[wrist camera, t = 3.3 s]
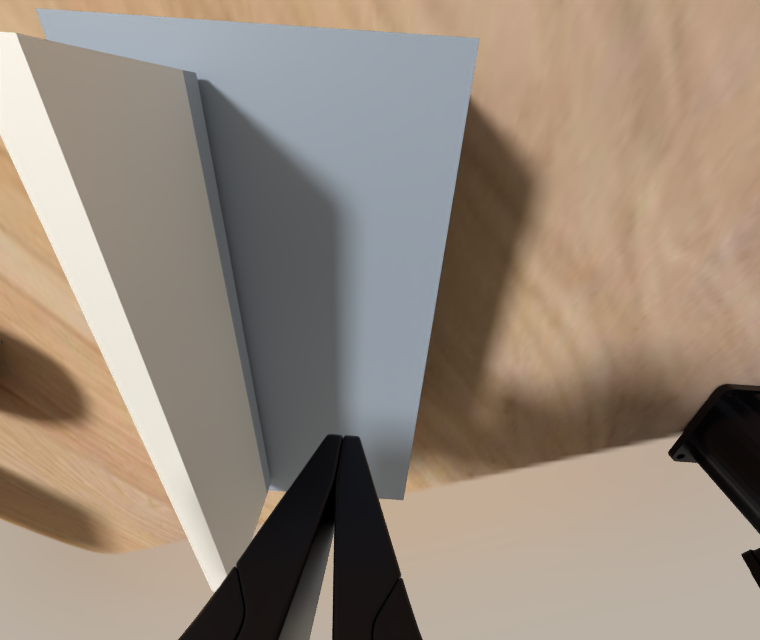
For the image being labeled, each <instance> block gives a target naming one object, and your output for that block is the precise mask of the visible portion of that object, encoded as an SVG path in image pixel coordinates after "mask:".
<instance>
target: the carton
mask: <svg viewBox="0 0 760 640" xmlns="http://www.w3.org/2000/svg"><path fill="white" fill-rule="evenodd" d="M36 11H37V14H38V17H39V20H40V22H41V25H42V28H43V31H44V34H45V36H46V39H47V40H50V41H54V42H59V43H63V44H68V45H73V46H77V47H82V48H86V49H91V50H95V51H100V52H104V53H109V54H113V55H118V56H122V57H127V58H131V59H136V60H140V61H145V62H149V63H154V64H158V65H163V66H167V67H172V68H176V69H181V70H186V71H190V72H195V73H196V75H197V80H198V86H199V91H200V96H201V102H202V107H203V113H204V118H205V124H206V129H207V135H208V140H209V146H210V151H211V157H212V162H213V167H214V173H215V178H216V184H217V189H218V195H219V200H220V206H221V211H222V217H223V222H224V228H225V233H226V239H227V244H228V249H229V255H230V260H231V266H232V271H233V277H234V282H235V288H236V293H237V299H238V304H239V310H240V315H241V321H242V326H243V331H244V337H245V342H246V348H247V353H248V359H249V364H250V370H251V375H252V381H253V386H254V392H255V397H256V402H257V408H258V413H259V419H260V424H261V430H262V435H263V441H264V446H265V452H266V457H267V463H268V468H269V474H270V479H271V484H270V487H269V490H273V491H287V490H288V489H289V488H290V486H291V485H292V483H293V482H294V480H295V479H296V478H297V476H298V475H299V473H300V472H301V471H302V469H303V468H304V466H305V465H306V464H307V462H308V461H309V459H310V458H311V456H312V455H313V454H314V452H315V451H316V449H317V448H318V447H319V445H320V444H321V442H322V441H323V439H324V438H325V437H326V436H327V435H328V434H339V435H342V436H343V438H344V436H345V435H354V436H359V437H360V439H361V442H362V446H363V449H364V452H365V456H366V459H367V462H368V466H369V469H370V472H371V476H372V479H373V482H374V486H375V489H376V492H377V496H378V498H382V499H396V500H403V499H404V493H405V487H406V481H407V475H408V469H409V463H410V457H411V450H412V444H413V438H414V432H415V426H416V420H417V414H418V408H419V402H420V396H421V390H422V384H423V378H424V372H425V366H426V359H427V353H428V347H429V341H430V335H431V329H432V323H433V317H434V311H435V305H436V299H437V293H438V287H439V281H440V275H441V269H442V262H443V256H444V250H445V244H446V238H447V232H448V226H449V220H450V214H451V208H452V202H453V196H454V190H455V184H456V178H457V171H458V165H459V159H460V153H461V147H462V141H463V135H464V129H465V123H466V117H467V111H468V105H469V99H470V93H471V87H472V80H473V74H474V68H475V62H476V56H477V50H478V44H479V38H467V37H453V36H438V35H423V34H408V33H393V32H379V31H364V30H349V29H334V28H319V27H305V26H290V25H275V24H260V23H245V22H231V21H216V20H201V19H186V18H171V17H157V16H142V15H127V14H112V13H97V12H83V11H68V10H53V9H38V8H36Z"/></svg>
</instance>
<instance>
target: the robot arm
mask: <svg viewBox="0 0 760 640" xmlns="http://www.w3.org/2000/svg"><path fill="white" fill-rule="evenodd" d="M668 454H669V456H670V457H671V458H672V459H673V460H674V461H680V462H694V463H698V464H699V465H700V466H701V467H702V468H703V469H704V470H705V472H706V473H707V474H708V475H709V476H710V478H711V479H712V480H713V481H714V482H715V483H716V484H717V486H718V487H719V488H720V489H721V490H722V491H723V492H724V493H725V495H726V496H727V497H728V498H729V499H730V500H731V502H732V503H733V504H734V505H735V506H736V507H737V508H738V510H739V511H740V512H741V513H742V514H743V515H744V516H745V518H746V519H747V520H748V521H749V522H750V523H751V524H752V526H753V527H754V528H755V529H756V530H757V531H758V533H759V534H760V387H758V386H744V385H724V386H721V387H719V388H718V389H717V390H716V391H715V393H714V394H713V395H712V396H711V398H710V399H709V400H708V402H707V403H706V404H705V405H704V407H703V408H702V409H701V411H700V412H699V413H698V414H697V416H696V417H695V418H694V420H693V421H692V422H691V423H690V425H689V426H688V427H687V428H686V430H685V431H684V432H683V434H682V435H681V436H680V437H679V439H678V440H677V441H676V443H675V444H674V445H673V447H672V448H671V449H670V450H669V452H668ZM333 534H334V574H333V628H332V640H423V639H422V637H421V634H420V632H419V629H418V626H417V623H416V620H415V617H414V614H413V611H412V608H411V604H410V602H409V598H408V595H407V592H406V589H405V585H404V582H403V579H402V578H401V572H400V569H399V566H398V562H397V560H396V556H395V552H394V549H393V546H392V542H391V539H390V536H389V532H388V529H387V526H386V523H385V519H384V516H383V512H382V509H381V506H380V502H379V499H378V496H377V492H376V489H375V486H374V482H373V479H372V476H371V472H370V469H369V466H368V462H367V459H366V456H365V452H364V449H363V446H362V442H361V439H360V437H359V436H354V435H345V436H344V438H343V436H342V435H339V434H328V435H327V436H326V437H325V438H324V439H323V441H322V442H321V444H320V445H319V447H318V448H317V449H316V451H315V452H314V454H313V455H312V456H311V458H310V459H309V461H308V462H307V464H306V465H305V466H304V468H303V469H302V471H301V472H300V473H299V475H298V476H297V478H296V479H295V480H294V482H293V483H292V485H291V486H290V488H289V489H288V490H287V492H286V493H285V495H284V496H283V497H282V499H281V500H280V502H279V503H278V505H277V506H276V507H275V509H274V510H273V512H272V513H271V514H270V516H269V517H268V519H267V520H266V522H265V523H264V524H263V526H262V527H261V529H260V530H259V531H258V533H257V534H256V536H255V537H254V538H253V540H252V541H251V543H250V544H249V546H248V547H247V548H246V550H245V551H244V553H243V554H242V555H241V557H240V558H239V560H238V561H237V563H236V567H233V568H232V569H231V571H230V572H229V574H228V575H227V576H226V578H225V579H224V581H223V582H222V583H221V585H220V586H219V588H218V589H217V590H216V592H215V593H214V594H213V596H212V597H211V598H210V600H209V601H208V603H207V604H206V605H205V607H204V608H203V609H202V611H201V612H200V613H199V615H198V616H197V617H196V619H195V620H194V621H193V622H192V623H191V625H190V626H189V627H188V628H187V629H186V631H185V632H184V633H183V635H182V636H181V637H180V638H179V639H178V640H309V639H310V634H311V629H312V625H313V621H314V616H315V613H316V608H317V604H318V600H319V595H320V591H321V586H322V582H323V577H324V574H325V569H326V565H327V561H328V556H329V551H330V547H331V543H332V538H333ZM742 557H743V559H744V561H745V562H746V564H747V566H748V567H749V569H750V571H751V574H752V576H753V577H754V579H755V581H756V582H757V584H758V586H759V588H760V548H759V549H756V550H749V551H747V552H745V553H743V554H742Z"/></svg>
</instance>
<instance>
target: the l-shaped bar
mask: <svg viewBox="0 0 760 640" xmlns="http://www.w3.org/2000/svg"><path fill="white" fill-rule="evenodd" d="M0 135H1V137H2V139H3V142H4V144H5V146H6V148H7V150H8V152H9V154H10V157H11V159H12V161H13V163H14V165H15V167H16V170H17V172H18V174H19V176H20V178H21V180H22V182H23V185H24V187H25V189H26V191H27V193H28V195H29V198H30V200H31V202H32V204H33V206H34V208H35V210H36V213H37V215H38V217H39V219H40V221H41V223H42V226H43V228H44V230H45V232H46V234H47V236H48V238H49V241H50V243H51V245H52V247H53V249H54V251H55V254H56V256H57V258H58V260H59V262H60V264H61V266H62V269H63V271H64V273H65V275H66V277H67V279H68V282H69V284H70V286H71V288H72V290H73V292H74V294H75V297H76V299H77V301H78V303H79V305H80V307H81V310H82V312H83V314H84V316H85V318H86V320H87V322H88V325H89V327H90V329H91V331H92V333H93V335H94V338H95V340H96V342H97V344H98V346H99V348H100V350H101V353H102V355H103V357H104V359H105V361H106V363H107V365H108V368H109V370H110V372H111V374H112V376H113V378H114V381H115V383H116V385H117V387H118V389H119V391H120V393H121V396H122V398H123V400H124V402H125V404H126V406H127V409H128V411H129V413H130V415H131V417H132V419H133V421H134V424H135V426H136V428H137V430H138V432H139V434H140V437H141V439H142V441H143V443H144V445H145V447H146V449H147V452H148V454H149V456H150V458H151V460H152V462H153V465H154V467H155V469H156V471H157V473H158V475H159V477H160V480H161V482H162V484H163V486H164V488H165V490H166V493H167V495H168V497H169V499H170V501H171V503H172V505H173V508H174V510H175V512H176V514H177V516H178V518H179V521H180V523H181V525H182V527H183V529H184V531H185V533H186V536H187V538H188V540H189V542H190V544H191V546H192V548H193V551H194V553H195V555H196V557H197V559H198V561H199V564H200V566H201V568H202V570H203V572H204V574H205V577H206V579H207V581H208V583H209V585H210V587H211V589H212V591H216V590H217V589H218V588H219V586H220V585H221V583H222V582H223V581H224V579H225V578H226V576H227V575H228V574H229V572H230V571H231V569H232V568H233V567H236V563H237V561H238V560H239V558H240V557H241V555H242V554H243V553H244V551H245V550H246V548H247V547H248V546H249V544H250V543H251V540H252V537H253V534H254V531H255V528H256V525H257V522H258V519H259V516H260V513H261V510H262V507H263V505H264V502H265V499H266V496H267V493H268V490H269V487H270V484H271V479H270V474H269V468H268V463H267V457H266V452H265V446H264V441H263V435H262V430H261V424H260V419H259V413H258V408H257V402H256V397H255V392H254V386H253V381H252V375H251V370H250V364H249V359H248V353H247V348H246V342H245V337H244V331H243V326H242V321H241V315H240V310H239V304H238V299H237V293H236V288H235V282H234V277H233V271H232V266H231V260H230V255H229V249H228V244H227V239H226V233H225V228H224V222H223V217H222V211H221V206H220V200H219V195H218V189H217V184H216V178H215V173H214V167H213V162H212V157H211V151H210V146H209V140H208V135H207V129H206V124H205V118H204V113H203V107H202V102H201V96H200V91H199V86H198V80H197V75H196V73H195V72H190V71H186V70H181V69H176V68H172V67H167V66H163V65H158V64H154V63H149V62H145V61H140V60H136V59H131V58H127V57H122V56H118V55H113V54H109V53H104V52H100V51H95V50H91V49H86V48H82V47H77V46H73V45H68V44H63V43H59V42H54V41H50V40H45V39H41V38H36V37H32V36H27V35H23V34H18V33H9V32H0Z"/></svg>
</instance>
